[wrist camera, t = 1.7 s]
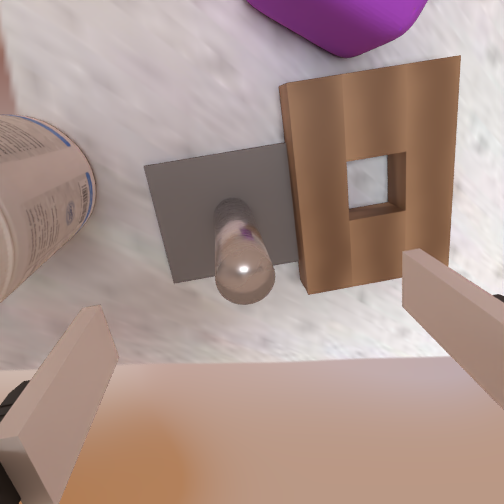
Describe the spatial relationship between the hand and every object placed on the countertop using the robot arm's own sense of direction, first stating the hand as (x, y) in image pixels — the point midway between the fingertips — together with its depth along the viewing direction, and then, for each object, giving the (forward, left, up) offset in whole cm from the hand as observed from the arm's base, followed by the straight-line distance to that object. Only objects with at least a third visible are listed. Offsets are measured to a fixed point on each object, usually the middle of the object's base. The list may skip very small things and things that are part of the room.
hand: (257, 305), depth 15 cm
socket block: (+11, +1, -15) cm, 18 cm away
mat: (0, 0, -15) cm, 15 cm away
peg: (0, 0, -15) cm, 15 cm away
